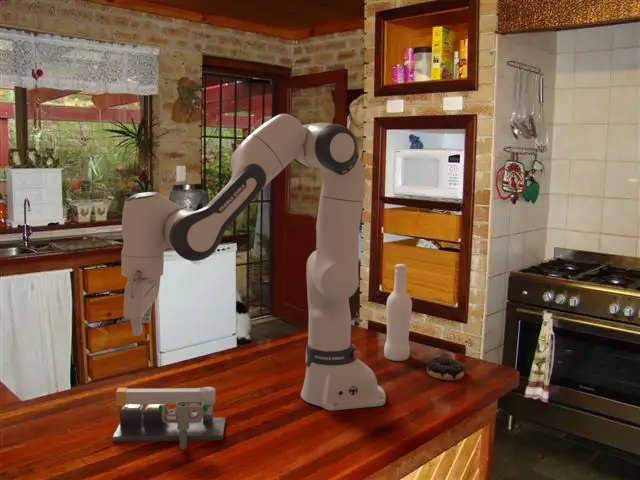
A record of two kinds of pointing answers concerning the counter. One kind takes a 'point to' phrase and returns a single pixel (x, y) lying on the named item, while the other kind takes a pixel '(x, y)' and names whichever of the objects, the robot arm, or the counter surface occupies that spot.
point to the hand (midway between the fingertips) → (141, 328)
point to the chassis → (174, 430)
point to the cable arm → (164, 396)
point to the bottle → (398, 318)
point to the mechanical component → (183, 416)
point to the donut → (445, 368)
